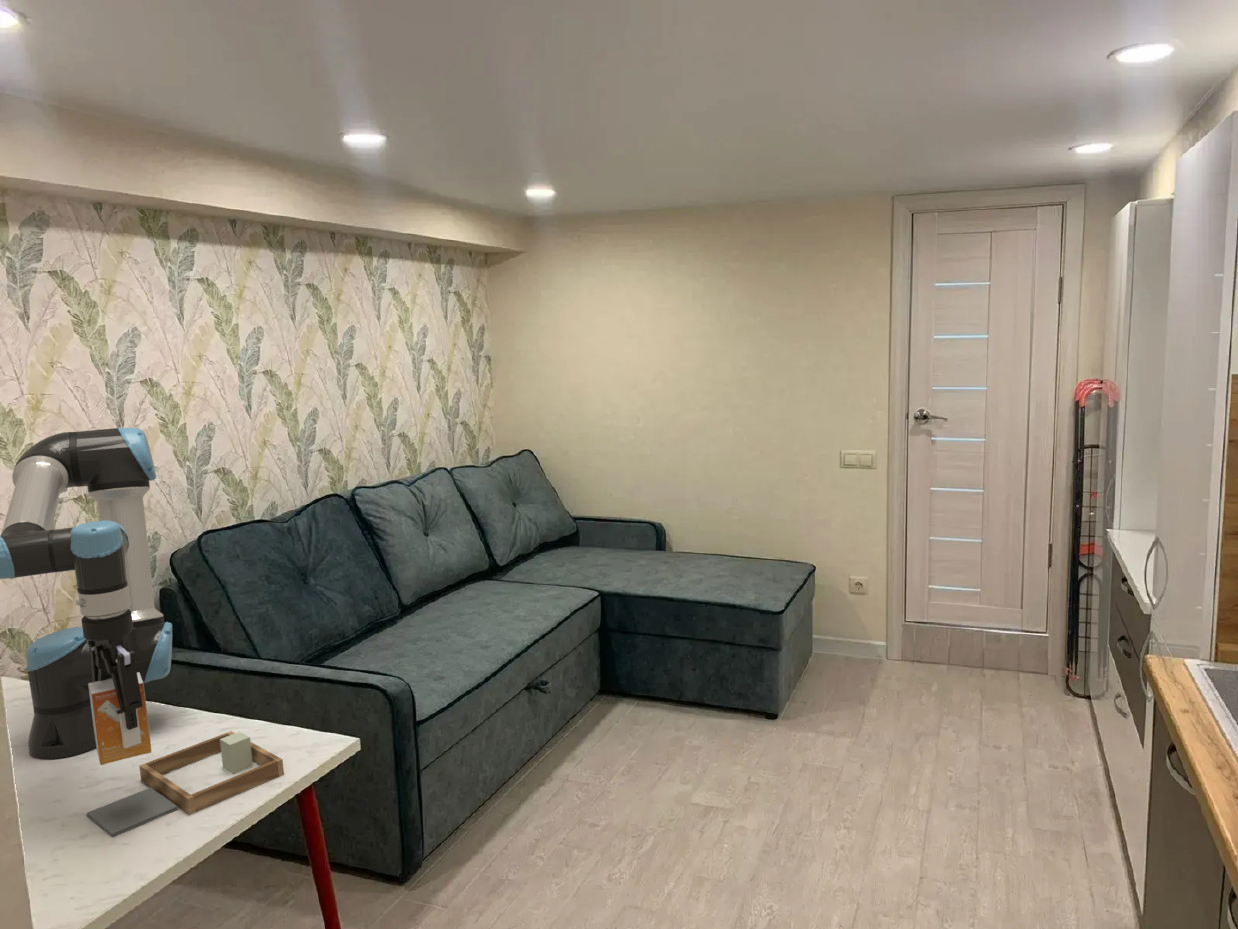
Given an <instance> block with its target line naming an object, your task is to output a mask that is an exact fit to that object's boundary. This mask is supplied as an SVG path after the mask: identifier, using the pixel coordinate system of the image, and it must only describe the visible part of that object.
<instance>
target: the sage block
mask: <svg viewBox="0 0 1238 929" xmlns="http://www.w3.org/2000/svg"><path fill="white" fill-rule="evenodd" d="M234 733H235V734H232V735H229V736H227V737H224V738H222V739H220V746H221V752H220V755H221V761H222V769H224V770H225V771H227V772H229V773H230V774H232V775H235V774H237V773H240V772H242V771H244V770H246V769H249V768H251V767H254V763H253V762H254V761H252V753H251V743H250V742H251V737H250V736H249V735H247V734H244V732H241V731H238V732H234Z"/></svg>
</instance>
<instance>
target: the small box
mask: <svg viewBox="0 0 1238 929" xmlns="http://www.w3.org/2000/svg"><path fill="white" fill-rule="evenodd" d="M137 677H138V682H139V688H140V694H141V699H142V705H143V706H142V707H140V708H137V712H138V720H139V728H140V736H141V743H139V744H136V745H134V746H131V747H128V748H123V742H122V735H121V727H120V720H119V714H117V712H116V711H118V710H121V708H120V705H119V701H118V697H117V694H116V690H115V686H114V683H113V679H112V678H110V679H106V680H103V681H97V682H92V683H88V686H89V694H90V702H91V710H92V718H93V726H94V734H95V740H96V748H95V749H96V752H97V756H98V761H99V765H100V766H104V765H106V764H107V765H108V764H110V763H115V762H118V761H121V760H125V759H129V758H133V757H138V756H139V757H140V756H143V755H146V754H147V755H148V754H151V753H152V744H151V735H150V725H149V717H148V716H149V715H148V710H147V709H148V708H147V702H146V701H147V700H146V693H145V691H146V690H145V685H144V684H145V683H144V682H143V681H142V678H141V675H140V673H139V672H138V673H137Z"/></svg>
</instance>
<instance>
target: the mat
mask: <svg viewBox="0 0 1238 929" xmlns="http://www.w3.org/2000/svg"><path fill="white" fill-rule="evenodd" d="M178 808H179V807H178V806H177V805H175V804H174V803H172V802H171V801H170V800H168V799H167V798H165V797H164V796H163V795H161V794H160V793H158V792H157V791H156V790H154V789H153V788H151V787H150V786H149V788H145V789H143V790H141V791H138V792H136V793H134V794H133V793H132V794H131V795H127V796H126V797H123V798H121V799H118V800H115V801H113V802H110V803H107V804H105V805H103V806H100V807H98V808H95V809H93V810H89V811H88V812H86V817H88V818H89V819H90V820H91V821H93V822H94V824H96V825H97V826H98V827H99V828H101V829H102V830H103V831H104V832H106V833H107V834H108V835H109V836H110V837H112V838H113V837H115V836H116V837H117V836H118V835H121V834H123V833H125V832H128V831H131V830H132V829H135V828H137V827H139V826H142V825H144V824H147V823H149V822H152V821H155V820H157V819H158V818H161V817H163V816H166V815H168V814H170V813H173V812H176V811H178V810H179V809H178Z"/></svg>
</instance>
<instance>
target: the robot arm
mask: <svg viewBox="0 0 1238 929" xmlns="http://www.w3.org/2000/svg"><path fill="white" fill-rule="evenodd" d="M154 463H155V462H154V460H153V455H152V452H151V449H150V445H149V442H148V438H147V436H146V434H145V432H144V430H142V429H141V428H138V427H113V428H105V429H103V428H102V429H93V430H91V429H90V430H80V431H67V432H60V433H55V434H53V435H50V436H47V437H45V438H43V439H41V440H39V441H37V442H36V443H34V445H32V446H31V447H29V448H28V449H27V450H25V452H24V453H23V454H21V456H20V457H19V459H18V460H17V461H16V462H15V466H14V469H13V471H12V477H11V478H12V483H13V485H14V488H13V492H12V496H11V499H10V503H9V506H8V510H7V513H6V516H5V519H4V523H3V526H2V530H1V533H0V580H6V579H10V580H12V579H16V578H23V577H31V576H37V575H38V576H39V575H45V574H52V573H53V574H54V573H61V572H69V571H71V572H72V571H74V573H75V581H76V587H77V589H76V590H77V594H78V599H76V601H75V604H76V605H77V606H79V609H80V615H82V618H81V621H80V622H81V626H76V627H69V628H65V629H61V630H58V631H55V632H52V633H48V634H46V635H44V636H42V637H39V638H38V639H36V640H35V641H33V642H32V643H31V644H30V645H29V646H28V648H27V649H26V654H25V656H26V657H25V658H26V659H25V660H26V667H25V668H26V669H25V670H26V671H27V674H28V681H29V688H30V693H31V694H30V695H31V701H32V707H33V708H32V709H33V718H32V722H31V728H30V732H29V735H28V736H29V737H28V739H27V740H28V741H27V744H28V752H29V755H31V757H33V758H35V759H36V758H37V759H45V760H51V759H54V760H55V759H63V758H67V757H72V756H76V755H80V754H83V753H87V752H88V751H91V750H93V749H97V748H96V740H95V734H94V726H93V718H92V710H91V702H90V694H89V686H88V683H92V682H97V681H103V680H106V679H110V678H112V679H113V683H114V686H115V690H116V694H117V697H118V701H119V705H120V708H121V710H118V711H116V712H117V714H119V720H120V727H121V735H122V742H123V748H128V747H131V746H134V745H136V744H139V743H141V736H140V728H139V720H138V712H137V708H140V707H142V706H143V705H142V699H141V694H140V688H139V682H138V677H137V673H138V672H139V673H140V675H141V678H142V681H143V683H144V684H147V683H149V682H152V681H157V680H161V679H164V678H166V677H167V676H168V675H169V674H170V671H171V665H172V655H173V654H172V652H173V623H171V622H168V621H166V622H165V617H164V614H163V613H162V612H160V611H159V610H157V609H156V607H155V598H154V590H153V580H152V579H153V578H152V570H151V561H150V560H151V559H150V551H149V543H148V542H149V541H148V533H147V523H146V514H145V504H144V496H145V495H146V494H147V493H148V492H149V491H150V490H151V487H150V486H151V485H150V481H154V480H156V479H157V474H156V470H155V469H156V468H155V464H154ZM80 487H81V488H82V487H87V493H88V496H90V497H92V498H93V499H94V500H96V503H97V510H98V519H99V521H89V522H85V523H81V524H79V525H75V526H74V527H67V528H65V527H64V528H55V529H53V527H54V522H55V521H54V520H55V518H56V517H55V516H56V512H57V507H58V503H59V498H60V494H61V493H63V491H65V489H70V488H80Z"/></svg>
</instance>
